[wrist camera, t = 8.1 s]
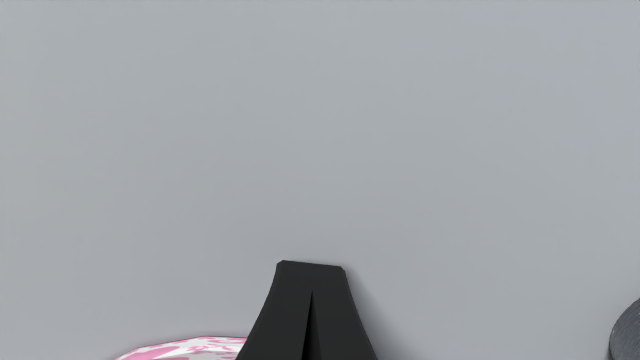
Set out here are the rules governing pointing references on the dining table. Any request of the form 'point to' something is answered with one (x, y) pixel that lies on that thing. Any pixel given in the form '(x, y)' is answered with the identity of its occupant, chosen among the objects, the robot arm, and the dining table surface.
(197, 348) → the teacup
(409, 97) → the dining table surface
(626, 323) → the grey canister
